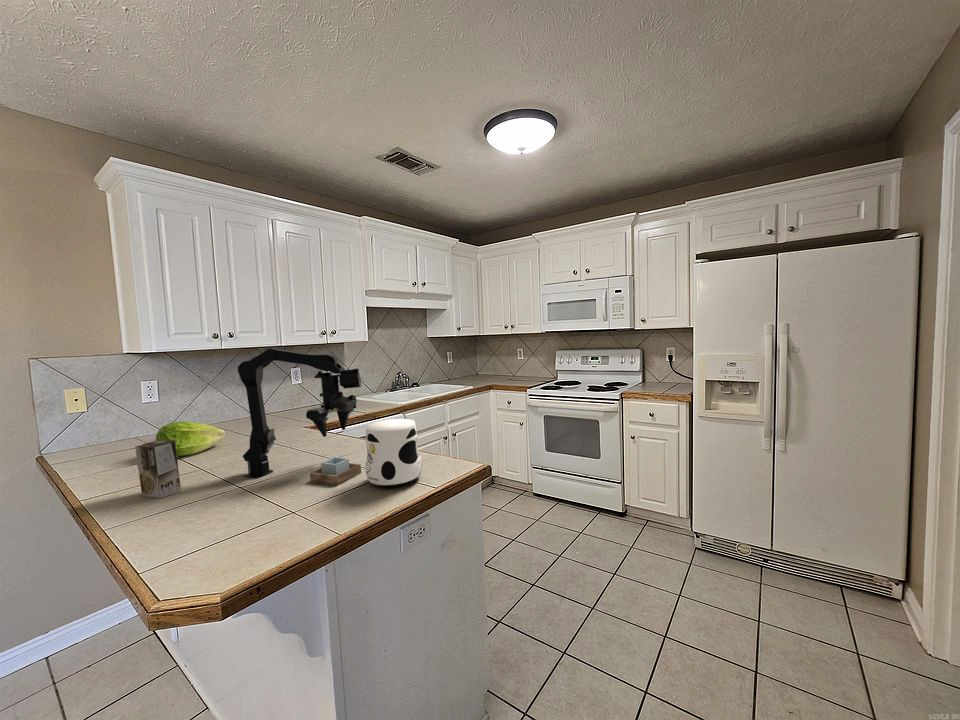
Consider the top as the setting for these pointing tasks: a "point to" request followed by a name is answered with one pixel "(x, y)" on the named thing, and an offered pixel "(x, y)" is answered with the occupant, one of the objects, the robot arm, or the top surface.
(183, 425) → the lettuce
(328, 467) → the small crate
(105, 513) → the top surface
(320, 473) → the brown wooden tray
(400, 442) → the milk container
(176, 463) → the coffee box
